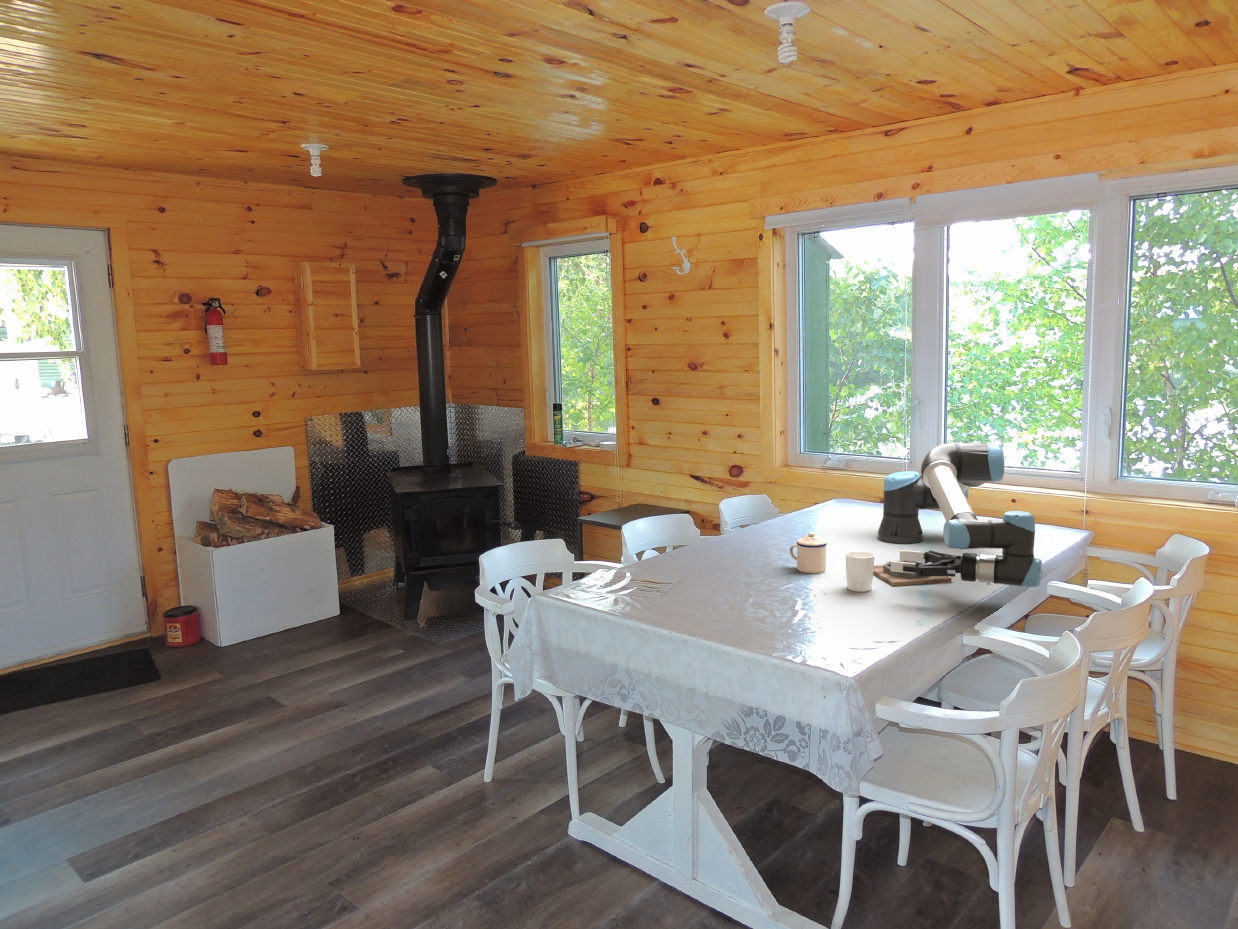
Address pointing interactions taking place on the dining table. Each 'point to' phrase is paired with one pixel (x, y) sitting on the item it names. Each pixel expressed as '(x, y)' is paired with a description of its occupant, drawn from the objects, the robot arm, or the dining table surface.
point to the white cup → (859, 570)
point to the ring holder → (905, 576)
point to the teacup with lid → (810, 554)
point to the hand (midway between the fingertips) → (895, 560)
